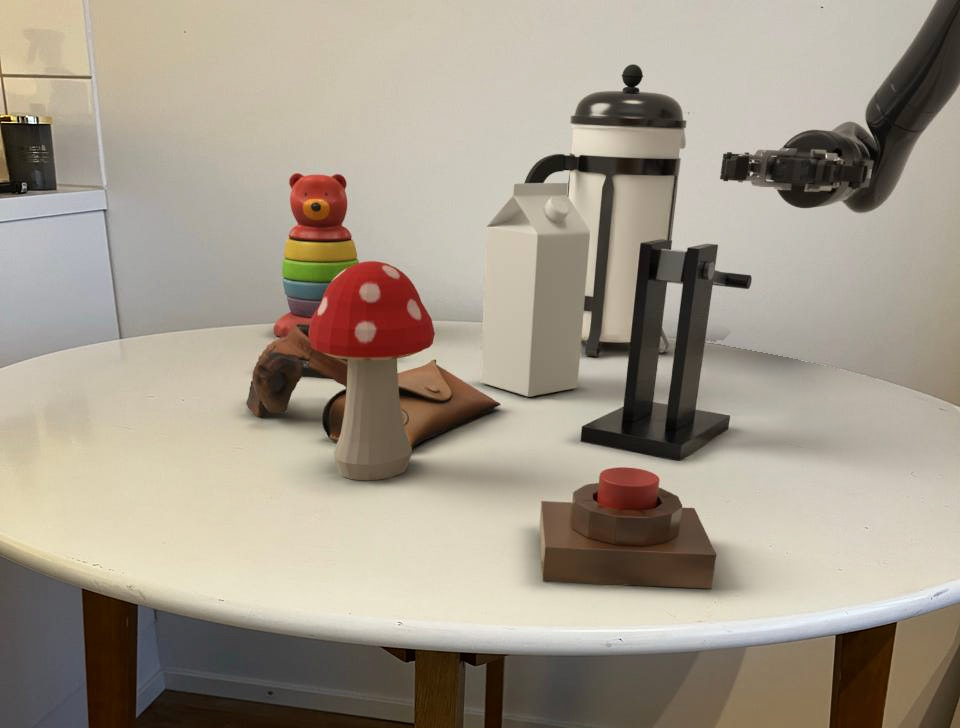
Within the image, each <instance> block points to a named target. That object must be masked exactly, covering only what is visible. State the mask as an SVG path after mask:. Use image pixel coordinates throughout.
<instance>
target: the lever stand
mask: <svg viewBox="0 0 960 728" xmlns="http://www.w3.org/2000/svg"><path fill="white" fill-rule="evenodd" d="M672 245H673V240H672V239H671V240H665V239H660V240H654V241H649V242H643V243H640V252H639V262H638V272H637V281H636V291H635V301H634V310H633V320H632V329H631V339H630V342H629V348H628V349H629V350H628V359H627V368H626V369H627V370H626V379H625V389H624V396H623V397H624V398H623V406H621V407H619V408H617V409H616V410H613V411H611V412H609V413H607V414H604V415H603V416H600V417H598V418H597V419H594V420H591V421H590V422H588V423H586V424H584V425H581V430H580V431H581V433H580V442H583V443H584V442H585V443H588V444H593V445H599V446H604V447H609V448H614V449H618V450H623V451H627V452H633V453H638V454H644V455H649V456H654V457H657V458H663V459H668V460H672V461H673V460H674V461H681V460H683V459H684V458H686V457H688V456H689V455H690V454H692V453H694V452H695V451H697V450H698V449H700V448H702V447H703V446H704V445H706V444H708V443H709V442H711V441H713V440H714V439H716V438H717V437H719V436H721V435H722V434H723V433H725V432H726V431H728V430H729V427H730V421H731V415H729V414H724V413H718V412H713V411H707V410H702V409H697V404H698V403H697V402H698V396H699V395H698V394H699V388H700V380H701V374H702V373H701V372H702V366H703V361H704V360H703V359H704V353H705V352H704V350H705V344H706V337H707V331H708V323H709V315H710V307H711V300H712V293H713V286H714V285H713V279H714V272H715V270H716V263H717V257H718V251H719V244H716V243H703V244H699V245H694V246H689V247H687V248H686V251H687V255H686V263H685V271H684V279H683V284H682V286H681V287H682V289H681V296H680V303H679V313H678V321H677V329H676V336H675V337H676V338H675V344H674V352H673V360H672V362H673V363H672V369H671V376H670V385H669V392H668V393H669V394H668V401H667V404H666V403H662V402H655V401H654V399H655V391H656V390H655V389H656V382H657V381H656V380H657V373H658V364H659V356H660V353H659V349H661V341H662V337H661V331H662V329H663V322H664V313H665V304H666V296H667V287H668V282H663V281H659V280H656V276H657V270H658V264H659V258H660V253H661V249H670V250H672Z"/></svg>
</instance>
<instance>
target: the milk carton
mask: <svg viewBox="0 0 960 728" xmlns="http://www.w3.org/2000/svg"><path fill="white" fill-rule="evenodd" d="M567 195H568V182H544V183H523V182H522V183H520V182H519V183H517V182H516V183H515V182H514V183H513V184H512V196H511V197H510V199H509V200H508V201H507V202H506V203H505V204H504V205H503V206H502V208H501V209H500V210H499V211H498V212H497V214H496V215H495V216H494V217H493V218H492V219H491V221H489V222H488V224H487V225H486V231H485V251H484V253H485V255H484V278H483V279H484V280H483V281H484V282H483V306H482V328H481V329H482V331H481V354H480V357H481V358H480V383H481V384H485V385H487V386H491V387H495V388H497V389H500V390H503V391H504V390H505V391H508V392H510V393H515V394H517V395H521V396H525V397H529V398H530V397H535V396H540V395H546V394H551V393H555V392H562V391H567V390H573V389H576V388H578V383H579V373H580V360H581V347H582V339H581V337H582V325H583V313H584V301H585V289H586V277H587V265H588V253H589V240H590V230H589V228H588V227H587V225H586V224H585V222H584V221H583V219H582V218H581V216H580V215H579V213H578V211H577V210H576V208H575V207H574V205H573V204H572V202H571V201H570V199H569V198H568V196H567Z"/></svg>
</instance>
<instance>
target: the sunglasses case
mask: <svg viewBox="0 0 960 728" xmlns="http://www.w3.org/2000/svg"><path fill="white" fill-rule="evenodd" d="M398 387H399V399H400V406H401V413H402V419H403V424H404V429H405V432H406V435H407V437H408V440H409V442H410V445H411V448H412V449H413V448H414V447H415V446H417V445H418V444H420V443H422V442H423V441H426V440H429V439H430V438H433V437H435V436H438V435H439V434H442V433H444V432H446V431H449V430H451V429H454V428H456V427H459V426H461V425H464V424H466V423H469V422H471V421H473V420H474V419H477V418H479V417H481V416H483V415H485V414H486V413H487V414H488V412H490V411H493V410H494V409H495V408H497V407H499V406H501V403H500V402H498V401H496V400H495V399H493V398H492V397H490V396H489V395H487V394H486V393H483V392H482V391H480V390H478V389H477V388H475V387H473V386H472V385H471V384H469V383H467V382H466V381H464V380H463V379H461V378H460V377H458V376H456V375H455V374H452V373H451V372H449V371H448V370H447V369H445V368H442V366H440V365H438V364H437V359H432V360H430V362H427V363H426V364H423V365H421V366H418V367H413V368H411V369H408V370H404V371H401V372H398ZM346 391H347V389H346V388H344V389H342V390H339V391H338V392H336V393H335V394H334V395H333V396H331V397H330V399H329V400H327V402H326V404H325V406H324V408H323V411H322V416H321V419H322V420H321V423H322V428H323V431H324V432H325V434H326V435H327V437H328V439H330V440H331V441H333V442H338V440H339V437H340V434H341V429H342V424H343V418H344V411H345V403H346Z"/></svg>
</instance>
